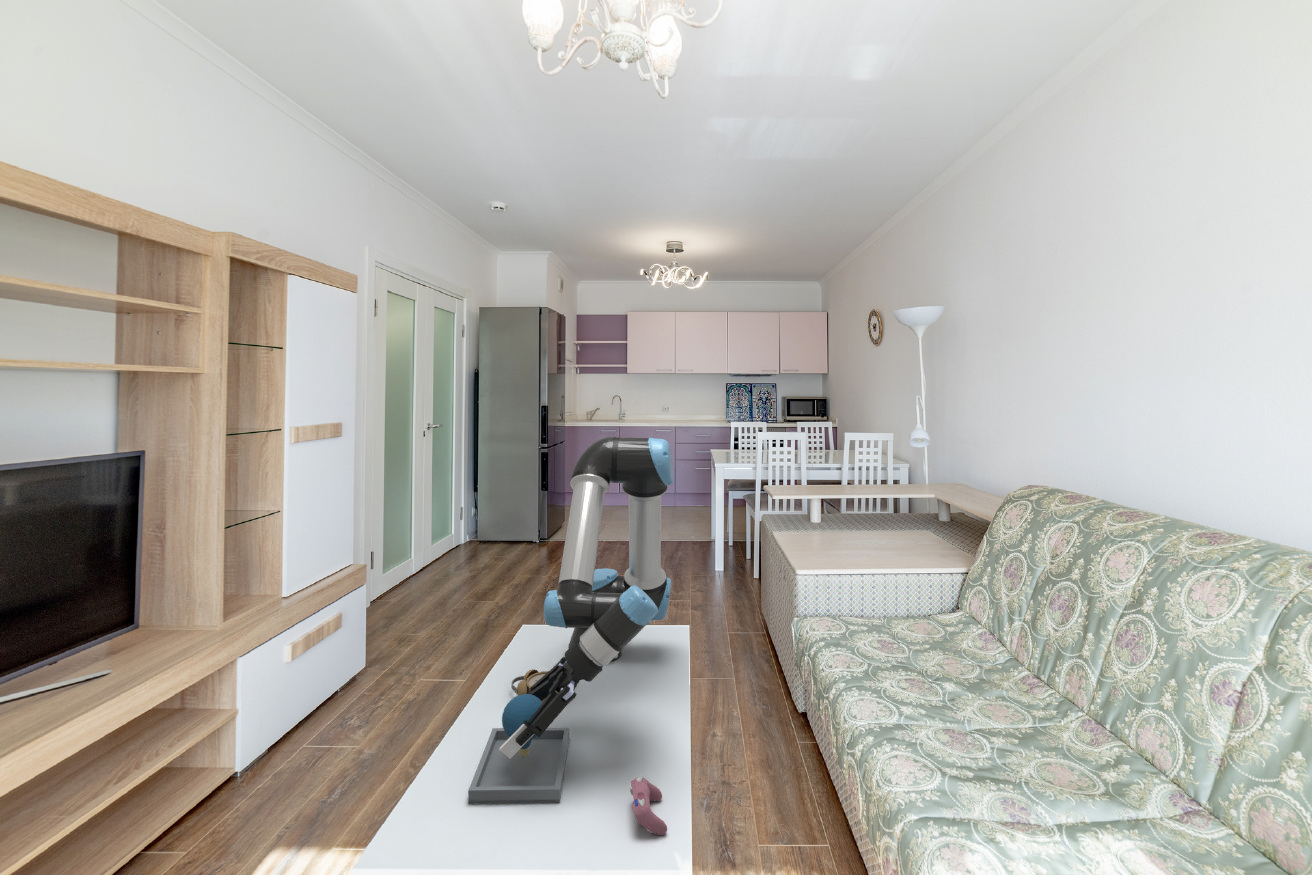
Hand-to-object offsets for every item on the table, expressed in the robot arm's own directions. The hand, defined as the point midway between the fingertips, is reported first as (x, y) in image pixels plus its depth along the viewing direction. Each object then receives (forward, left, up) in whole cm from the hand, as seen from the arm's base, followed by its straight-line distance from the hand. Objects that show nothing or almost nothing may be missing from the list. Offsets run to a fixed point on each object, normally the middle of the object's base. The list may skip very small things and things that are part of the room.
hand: (506, 739), depth 115 cm
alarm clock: (-18, -24, -7) cm, 31 cm away
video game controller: (-16, +26, -6) cm, 31 cm away
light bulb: (-3, +1, -4) cm, 5 cm away
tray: (-3, +1, -6) cm, 7 cm away
